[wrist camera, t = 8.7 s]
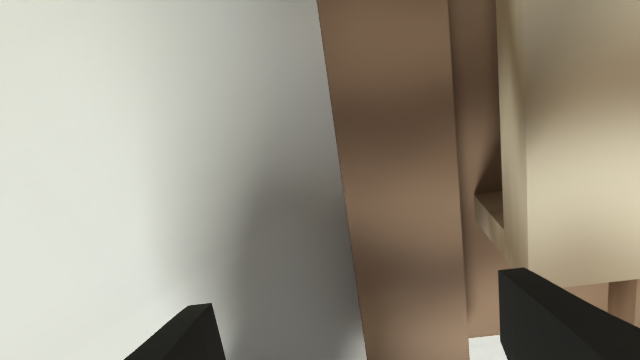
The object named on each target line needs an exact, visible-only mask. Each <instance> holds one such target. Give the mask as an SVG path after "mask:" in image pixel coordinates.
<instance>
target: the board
mask: <svg viewBox="0 0 640 360" xmlns="http://www.w3.org/2000/svg"><path fill="white" fill-rule="evenodd" d="M317 6H318V13H319V20H320V27H321V34H322V41H323V49H324V56H325V63H326V70H327V77H328V84H329V91H330V99H331V106H332V113H333V120H334V127H335V134H336V141H337V149H338V156H339V163H340V170H341V177H342V184H343V191H344V199H345V206H346V213H347V220H348V227H349V234H350V241H351V249H352V256H353V263H354V270H355V277H356V284H357V291H358V298H359V306H360V313H361V320H362V327H363V334H364V341H365V348H366V356H367V360H470V358H469V342H468V338H474V337H483V336H493V335H500V315H499V286H498V270H504V269H512V268H511V267H510V266H509V264H508V263H507V262H506V260H505V259H504V258H503V256H502V255H501V254H500V252H499V251H498V250H497V248H496V247H495V246H494V244H493V243H492V242H491V240H490V239H489V238H488V236H487V235H486V234H485V232H484V231H483V230H482V228H481V227H480V226H479V224H478V223H477V222H476V220H475V209H474V195H476V194H484V193H492V192H499V191H503V189H502V161H501V133H500V105H499V76H498V48H497V20H496V0H317ZM563 289H564V290H566V291H568V292H570V293H572V294H573V295H575V296H577V297H579V298H581V299H583V300H584V301H586V302H588V303H590V304H592V305H594V306H596V307H598V308H600V309H602V310H604V311H605V312H607V313H609V314H611V315H613V316H616V317H618V318H620V319H622V320H624V321H626V322H628V323H630V324H632V325H634V326H637V327H639V328H640V279H634V280H625V281H617V282H608V283H599V284H590V285H582V286H573V287H564V288H563Z"/></svg>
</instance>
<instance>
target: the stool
mask: <svg viewBox="0 0 640 360" xmlns="http://www.w3.org/2000/svg"><path fill="white" fill-rule="evenodd" d="M496 20H497V48H498V76H499V105H500V133H501V161H502V189H503V191H499V192H492V193H484V194H476V195H474V209H475V220H476V222H477V223H478V224H479V226H480V227H481V228H482V230H483V231H484V232H485V234H486V235H487V236H488V238H489V239H490V240H491V242H492V243H493V244H494V246H495V247H496V248H497V250H498V251H499V252H500V254H501V255H502V256H503V258H504V259H505V260H506V262H507V263H508V264H509V266H510V267H511V268H512V269H513V268H522V267H524V268H526V269H528V270H530V271H532V272H534V273H536V274H538V275H540V276H541V277H543V278H545V279H547V280H549V281H550V282H552V283H554V284H556V285H557V286H559V287H561V288H564V287H573V286H582V285H590V284H599V283H608V282H617V281H625V280H634V279H640V0H496Z"/></svg>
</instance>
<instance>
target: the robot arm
mask: <svg viewBox="0 0 640 360" xmlns="http://www.w3.org/2000/svg"><path fill="white" fill-rule="evenodd" d="M498 286H499V315H500V341H501V344H502V346H503V349H504V351H505V354H506V356H507V359H508V360H640V328H639V327H637V326H634V325H632V324H630V323H628V322H626V321H624V320H622V319H620V318H618V317H616V316H613V315H611V314H609V313H607V312H605V311H604V310H602V309H600V308H598V307H596V306H594V305H592V304H590V303H588V302H586V301H584V300H583V299H581V298H579V297H577V296H575V295H573V294H572V293H570V292H568V291H566V290H564V289H563V288H561V287H559V286H557V285H556V284H554V283H552V282H550V281H549V280H547V279H545V278H543V277H541V276H540V275H538V274H536V273H534V272H532V271H530V270H528V269H526V268H524V267H522V268H513V269H504V270H498ZM124 360H226V358H225V355H224V351H223V347H222V343H221V339H220V335H219V331H218V327H217V323H216V319H215V315H214V311H213V307H212V303H207V304H199V305H190V306H187V307H186V308H185V309H183V310H182V311H181V312H179V313H178V314H177V315H176V316H175V317H173V318H172V319H171V320H170V321H169V322H167V323H166V324H165V325H164V326H163V327H162V328H161V329H159V330H158V331H157V332H156V333H155V334H154V335H152V336H151V337H150V338H149V339H148V340H147V341H145V342H144V343H143V344H142V345H141V346H140V347H138V348H137V349H136V350H135V351H134V352H133V353H131V354H130V355H129V356H128V357H126V358H125V359H124Z"/></svg>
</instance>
